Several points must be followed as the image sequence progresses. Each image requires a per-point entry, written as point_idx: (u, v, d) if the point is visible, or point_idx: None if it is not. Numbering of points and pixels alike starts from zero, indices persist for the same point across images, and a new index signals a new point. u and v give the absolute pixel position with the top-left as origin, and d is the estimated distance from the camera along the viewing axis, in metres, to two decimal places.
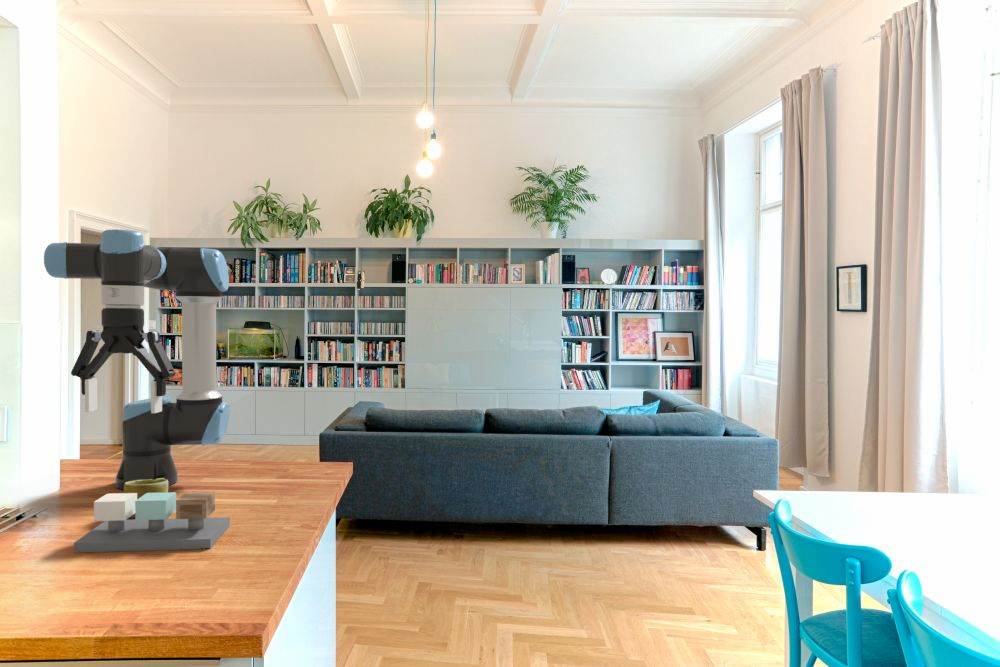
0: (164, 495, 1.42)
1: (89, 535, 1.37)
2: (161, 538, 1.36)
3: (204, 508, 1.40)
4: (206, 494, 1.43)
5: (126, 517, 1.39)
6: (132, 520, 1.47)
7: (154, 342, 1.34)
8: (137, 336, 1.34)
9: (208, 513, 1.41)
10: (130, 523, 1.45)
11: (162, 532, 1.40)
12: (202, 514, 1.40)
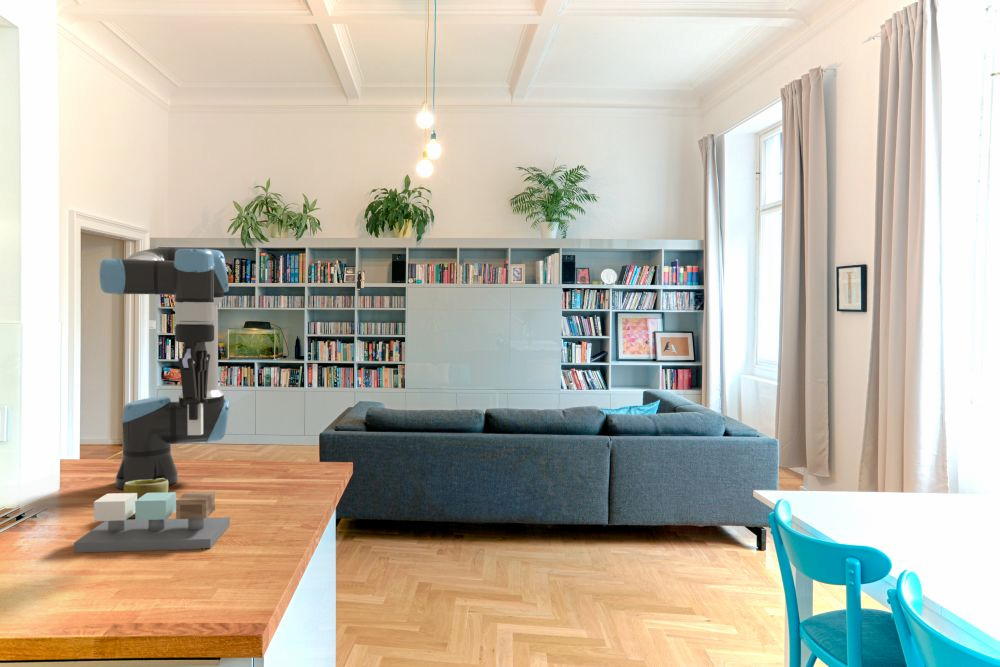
0: (164, 495, 1.42)
1: (89, 535, 1.37)
2: (161, 538, 1.36)
3: (204, 508, 1.40)
4: (206, 494, 1.43)
5: (126, 517, 1.39)
6: (132, 520, 1.47)
7: (181, 369, 1.36)
8: None
9: (208, 513, 1.41)
10: (130, 523, 1.45)
11: (162, 532, 1.40)
12: (202, 514, 1.40)
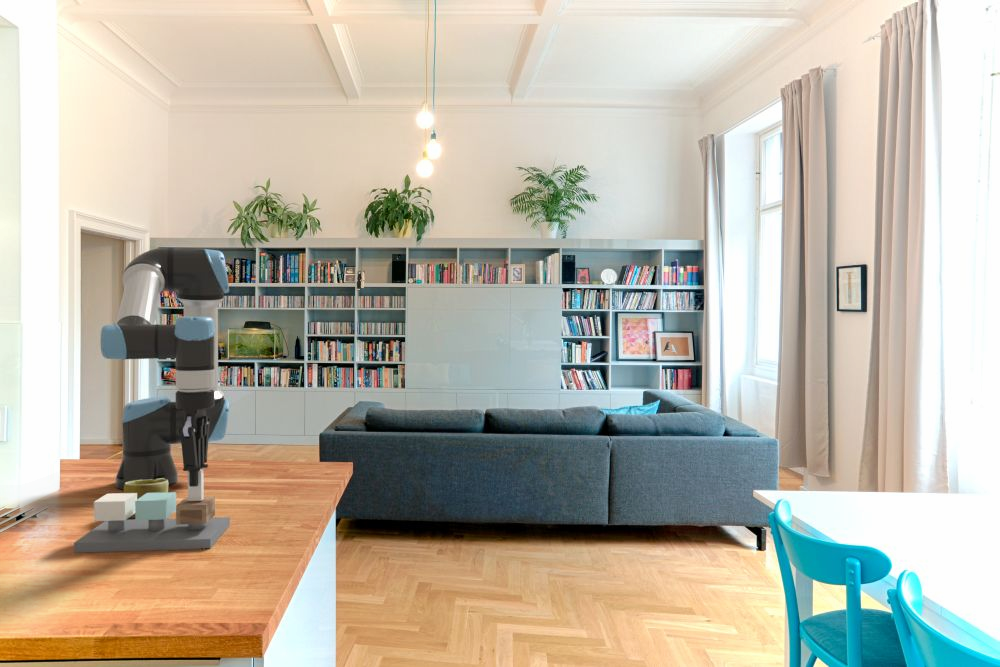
0: (164, 495, 1.42)
1: (89, 535, 1.37)
2: (161, 538, 1.36)
3: (204, 513, 1.40)
4: (206, 499, 1.43)
5: (126, 517, 1.39)
6: (132, 520, 1.47)
7: (182, 437, 1.36)
8: None
9: (208, 518, 1.41)
10: (130, 523, 1.45)
11: (162, 532, 1.40)
12: (202, 519, 1.40)
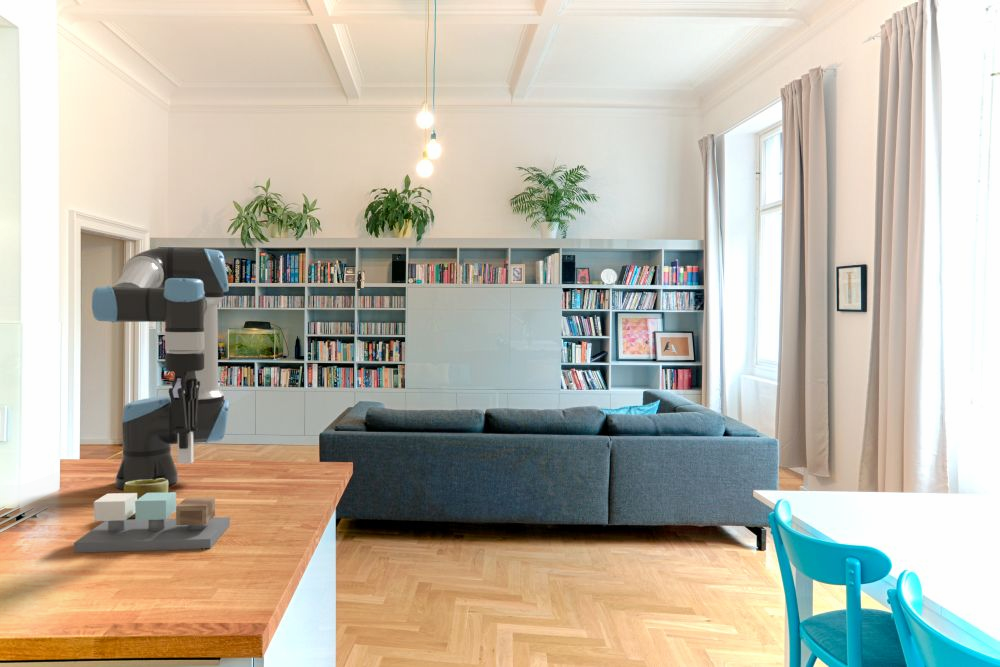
0: (164, 495, 1.42)
1: (89, 535, 1.37)
2: (161, 538, 1.36)
3: (204, 514, 1.40)
4: (206, 500, 1.43)
5: (126, 517, 1.39)
6: (132, 520, 1.47)
7: (171, 399, 1.36)
8: None
9: (208, 519, 1.41)
10: (130, 523, 1.45)
11: (162, 532, 1.40)
12: (202, 520, 1.40)
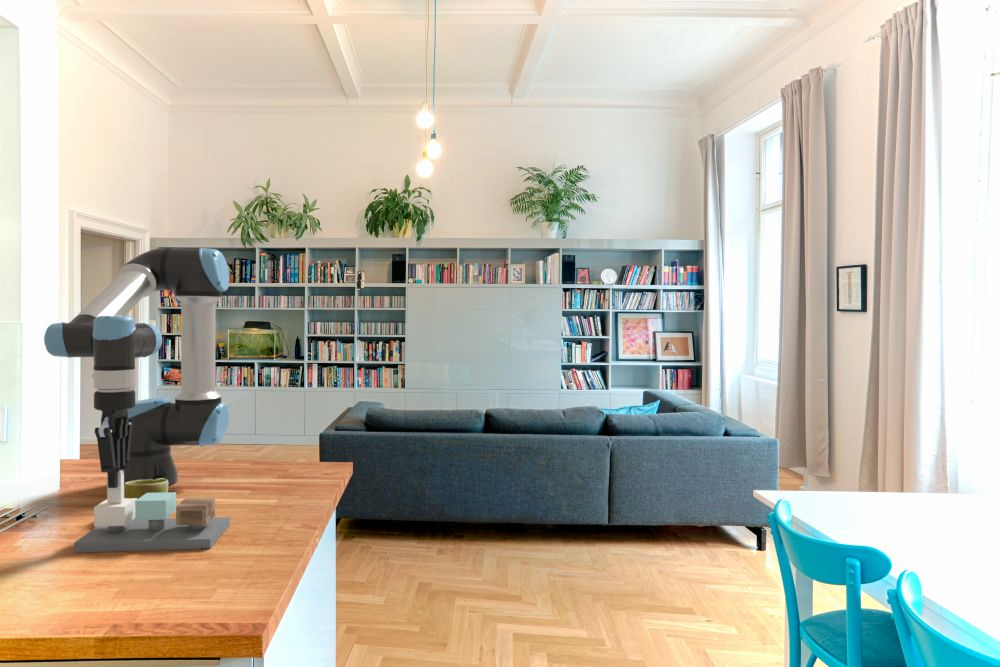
0: (164, 495, 1.42)
1: (89, 535, 1.37)
2: (161, 538, 1.36)
3: (204, 514, 1.40)
4: (206, 500, 1.43)
5: (126, 522, 1.39)
6: (132, 520, 1.47)
7: (98, 438, 1.34)
8: None
9: (208, 519, 1.41)
10: (130, 523, 1.45)
11: (162, 532, 1.40)
12: (202, 520, 1.40)
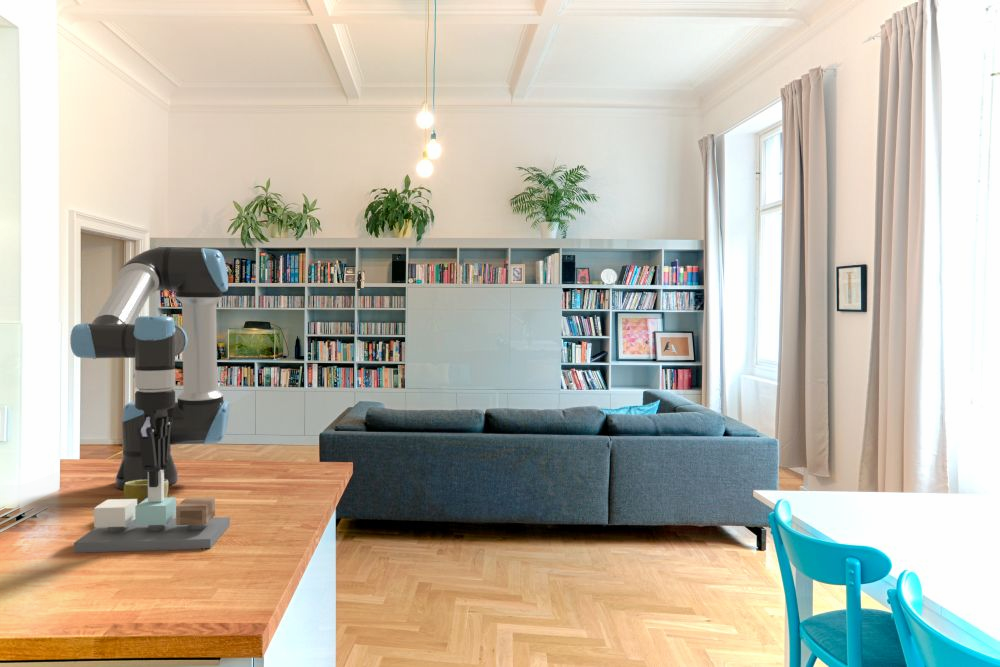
0: (164, 500, 1.42)
1: (89, 535, 1.37)
2: (161, 538, 1.36)
3: (204, 514, 1.40)
4: (206, 500, 1.43)
5: (126, 523, 1.39)
6: None
7: (140, 438, 1.35)
8: None
9: (208, 519, 1.41)
10: (130, 523, 1.45)
11: (162, 532, 1.40)
12: (202, 520, 1.40)
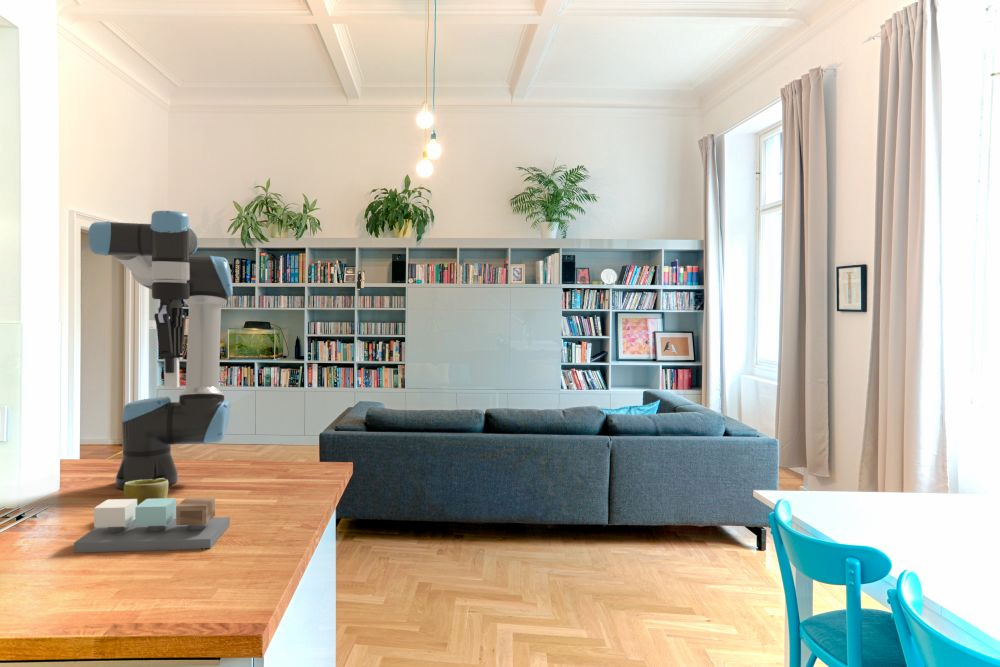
0: (164, 501, 1.42)
1: (89, 535, 1.37)
2: (161, 538, 1.36)
3: (204, 514, 1.40)
4: (206, 500, 1.43)
5: (126, 523, 1.39)
6: None
7: (157, 324, 1.44)
8: None
9: (208, 519, 1.41)
10: (130, 523, 1.45)
11: (162, 532, 1.40)
12: (202, 520, 1.40)
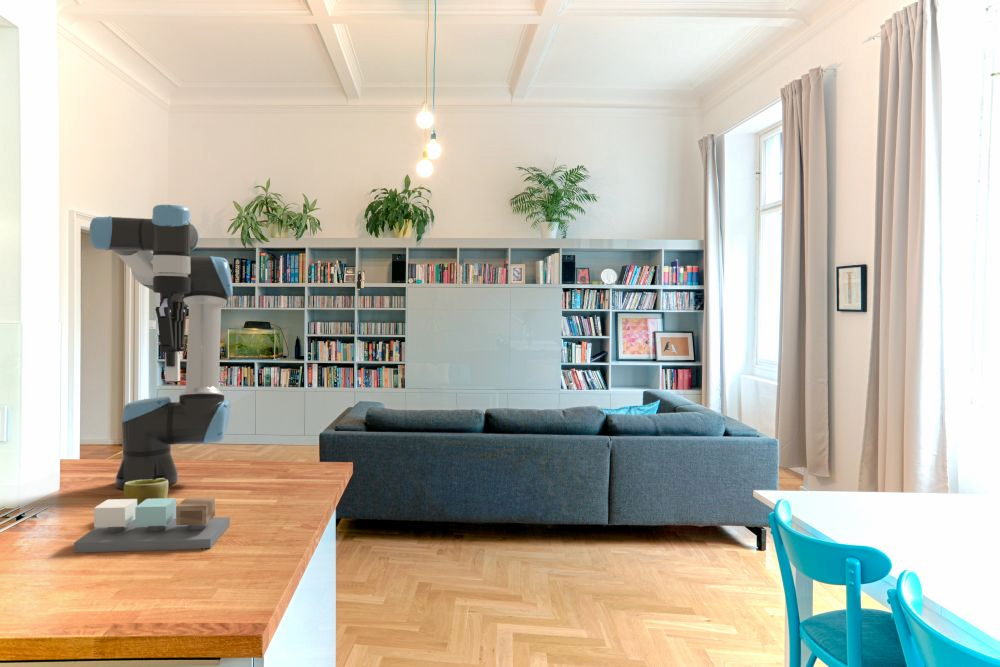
0: (164, 501, 1.42)
1: (89, 535, 1.37)
2: (161, 538, 1.36)
3: (204, 514, 1.40)
4: (206, 500, 1.43)
5: (126, 523, 1.39)
6: None
7: (158, 317, 1.44)
8: None
9: (208, 519, 1.41)
10: (130, 523, 1.45)
11: (162, 532, 1.40)
12: (202, 520, 1.40)
